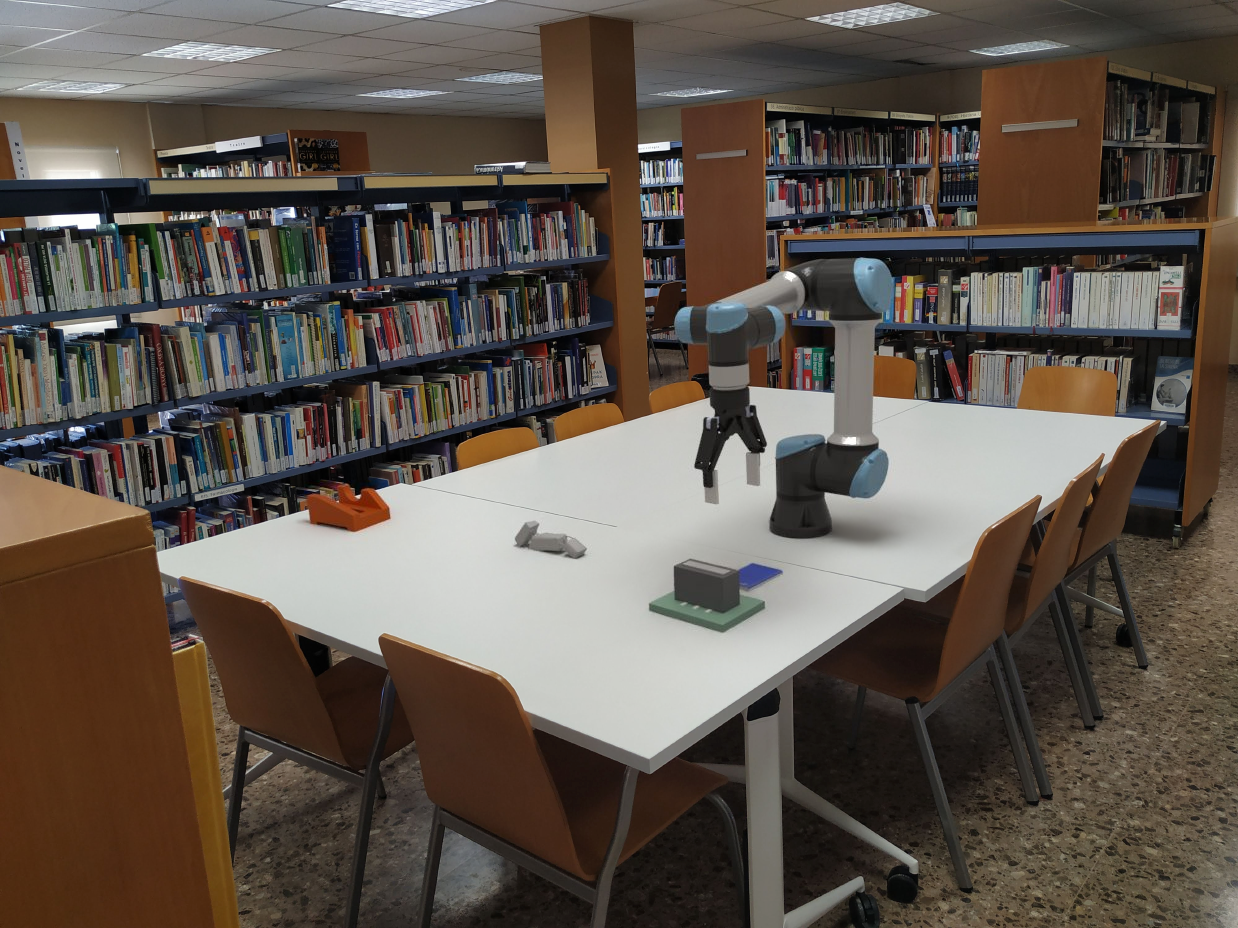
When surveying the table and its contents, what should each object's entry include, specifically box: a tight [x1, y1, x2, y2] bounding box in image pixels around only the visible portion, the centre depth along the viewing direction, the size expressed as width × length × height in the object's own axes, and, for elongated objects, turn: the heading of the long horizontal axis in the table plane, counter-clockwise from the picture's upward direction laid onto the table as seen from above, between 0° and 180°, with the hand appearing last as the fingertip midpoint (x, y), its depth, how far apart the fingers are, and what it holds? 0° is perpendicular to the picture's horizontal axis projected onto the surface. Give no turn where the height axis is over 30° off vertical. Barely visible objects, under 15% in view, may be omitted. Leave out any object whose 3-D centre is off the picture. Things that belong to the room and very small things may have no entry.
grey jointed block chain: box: [514, 520, 588, 559], centre depth 223 cm, size 20×4×7 cm, turn 54°
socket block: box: [673, 558, 741, 613], centre depth 183 cm, size 5×12×7 cm, turn 48°
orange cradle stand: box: [306, 483, 392, 533], centre depth 255 cm, size 18×13×8 cm
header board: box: [648, 590, 766, 633], centre depth 183 cm, size 14×18×6 cm
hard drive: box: [738, 562, 783, 593], centre depth 199 cm, size 2×8×12 cm
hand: (733, 493), depth 181 cm, fingers open, 13 cm apart
